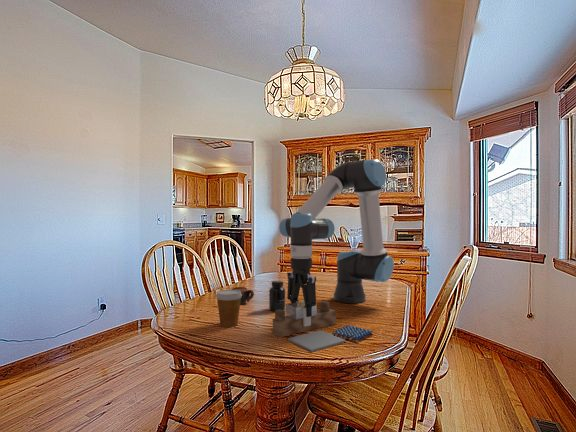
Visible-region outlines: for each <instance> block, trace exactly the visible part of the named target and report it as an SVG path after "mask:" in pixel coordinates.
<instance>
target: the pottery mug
mask: <svg viewBox="0 0 576 432" xmlns="http://www.w3.org/2000/svg"><path fill="white" fill-rule="evenodd" d="M231 289H232V290H239V291H241V294H242V296H241V301H240V305H246V303H248V302H250V301H251V300H252V299H253V297H254V295H255V293H254V291H253V290H252V289H248V288H247V287H244V286H238V287H233V288H231Z"/></svg>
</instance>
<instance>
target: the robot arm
mask: <svg viewBox="0 0 576 432" xmlns="http://www.w3.org/2000/svg"><path fill="white" fill-rule="evenodd" d="M386 180H387V173H386V168H385V166H384V164H383V163H382V162H381V161H380V160H379V159H377V158H376V159H371V158H369V159H368V158H367V159H362V160H355V161H346V162H343V163H342V164H340V165H338V166H337V167H335V168H334V169H333V170H331V171H330V172H329V173H328V174H327V175H326V176H325V177H324V179H323V182H322V184H320V185H319V187H318V188H317V189H316V190H315V191H314V193H312V194H311V196H310V197H309V198H308V199H307V200H306V201H305V202H304V203H303V204H302V205H301V206H300V207H299V208H298V210H297V211H296V212H294V213H292V214H291V215H290V217H287V218H283V219H281V221H280V222H279V225H278V229H279V230H278V231H279V233H280V234H281V235H282V236H283V237H285V238H290V256H291V258H290V269H292V271H290V272H287V273H286V274H287V297H286V298H287V299H286V300H288V301H289V302H290V303H295V302H297V301H300V300H299V296H300V295H299V294H300V291H301V289H302V291H301V292H302V296H303V300H304V303H305V306H303V326H310V325H311V316H312V306H316V304H317V294H316V293H317V292H316V291H317V289H316V282H317V277H316V276H312V275H311V269H312V268H313V259H312V257H313V241H314V240H325V239H330V238H331V237H332V236H333V235H334V234H335V224H334V222H333V221H332V220H331V219H329V218H317V217H319V215H320V213H321V212H322V211H323V210H324V209H325V208H326V206H327V205H328V204H329V203H330V202H331V201H332V199H333V198H335V196H336V195H338V194H341V193H342V191H344V190H346V189H350V188H351V189H353V190H354V194H356V195H357V196H358V205H359V215H360V225H361V235H362V247H363V249H362V250H359V249H358V250H350V251H349V250H347V251H340V252H338V254H337V257H336V258H337V260H336V268H337V269H336V271H337V273H336V277H337V278H336V286H335V289H334V293H333V300H334V301H335V302H339V303H343V304H344V303H346V304H359V303H364V302H366V301H367V300H366V296H367V295H366V293H365V290H364V286H363V280H365V281H371V282H375V283H385V282H388V281H389V280H390V279H391V277H392V275H393V272H394V267H395V263H394V262H395V261H394V259H393V257H392V256H390V255H389V254H388V250H387V249H386V248H385V247H384V241H383V240H384V239H383V229H382V217H381V206H380V195H379V194H380V192H381V191H382V189H383V188H382V187H383V186H384V185H385V184H386V183H387V182H386Z"/></svg>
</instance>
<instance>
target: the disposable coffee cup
mask: <svg viewBox="0 0 576 432" xmlns="http://www.w3.org/2000/svg"><path fill="white" fill-rule="evenodd" d="M232 289H233V288H230V289H229V288H228V289H222V290H218V291H217V292H216V295H215V297H216V301H217V307H218V317H219V324H220V326H221V327H224V328H231V327H236V326H237V325H238V324H239V315H240V307H241V304H240V301H241V296H242V294H241V291H239V290H232Z"/></svg>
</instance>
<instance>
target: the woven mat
mask: <svg viewBox="0 0 576 432" xmlns="http://www.w3.org/2000/svg"><path fill="white" fill-rule="evenodd" d="M373 332H374V330H370V329H365V328H361V327H358V326H354V325H350V324H349V325H345V326H343V327H341V328H338V329H335V330H333V331H332V333H331V334H332V335H335V336H338V337H339V338H342V339H344V340H346V339H349V340H348V341H352V342H355V343H359V342H361V341H363V340H366V339H367V338H369V337H371V336H373V335H374V333H373ZM343 337H344V338H343Z"/></svg>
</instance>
